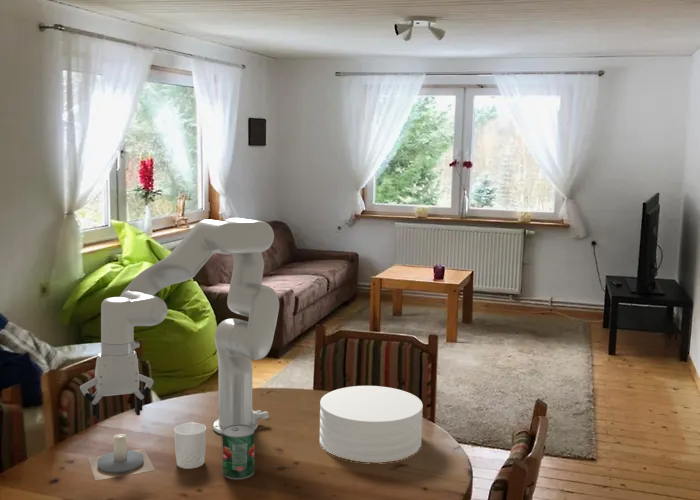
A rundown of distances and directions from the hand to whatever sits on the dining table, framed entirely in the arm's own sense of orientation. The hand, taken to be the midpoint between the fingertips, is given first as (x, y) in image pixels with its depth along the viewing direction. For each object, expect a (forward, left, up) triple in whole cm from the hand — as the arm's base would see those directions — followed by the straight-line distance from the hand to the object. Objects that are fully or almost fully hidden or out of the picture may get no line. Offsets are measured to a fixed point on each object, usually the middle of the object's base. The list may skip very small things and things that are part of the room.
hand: (117, 416), depth 184 cm
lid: (-1, 0, -13) cm, 13 cm away
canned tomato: (-27, +14, -14) cm, 33 cm away
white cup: (-17, +6, -14) cm, 22 cm away
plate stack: (-66, +10, -14) cm, 68 cm away
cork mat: (-1, 0, -14) cm, 14 cm away
